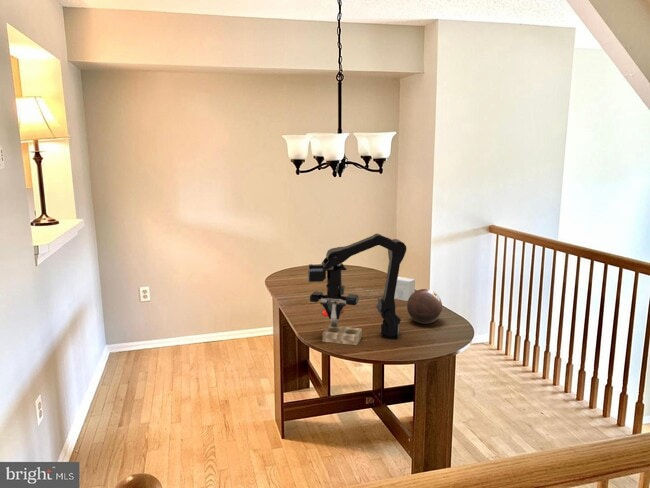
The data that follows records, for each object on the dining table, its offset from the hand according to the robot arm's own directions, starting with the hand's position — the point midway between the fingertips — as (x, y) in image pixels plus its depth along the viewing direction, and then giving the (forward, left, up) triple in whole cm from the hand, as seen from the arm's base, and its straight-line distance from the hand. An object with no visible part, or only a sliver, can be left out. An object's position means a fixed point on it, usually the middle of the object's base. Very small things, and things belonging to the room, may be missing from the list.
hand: (334, 318), depth 192 cm
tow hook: (+9, -29, -9) cm, 31 cm away
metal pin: (0, 0, -3) cm, 3 cm away
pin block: (-3, 0, -8) cm, 9 cm away
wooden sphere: (-33, -28, -8) cm, 44 cm away
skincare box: (-20, -61, -8) cm, 65 cm away
